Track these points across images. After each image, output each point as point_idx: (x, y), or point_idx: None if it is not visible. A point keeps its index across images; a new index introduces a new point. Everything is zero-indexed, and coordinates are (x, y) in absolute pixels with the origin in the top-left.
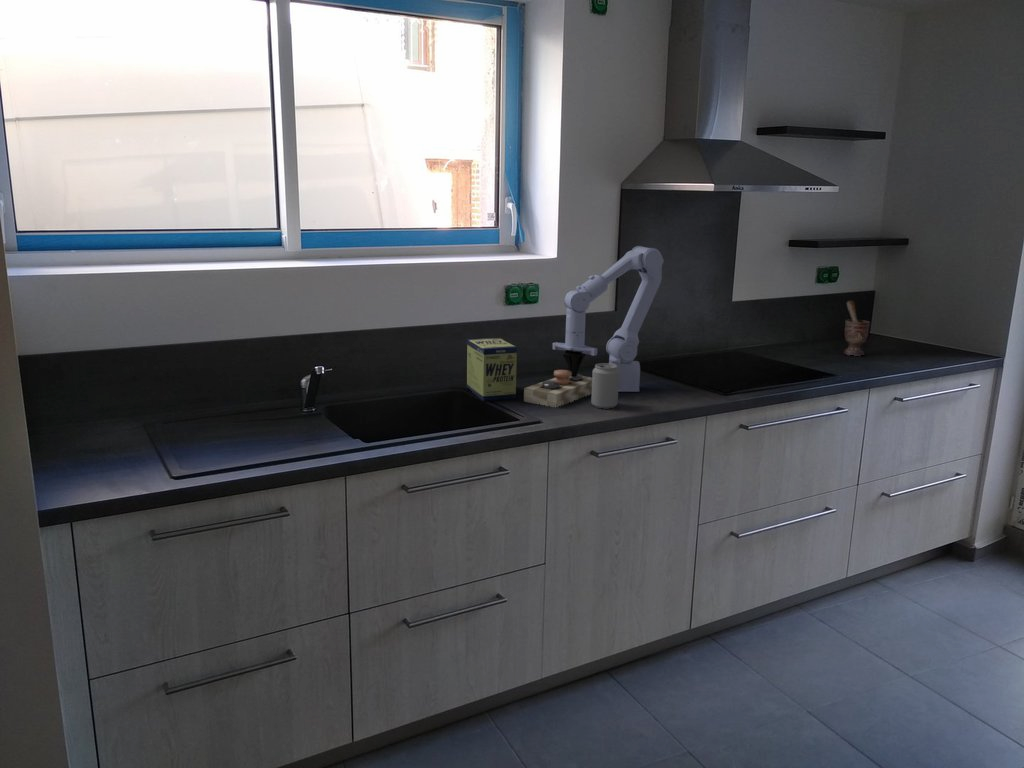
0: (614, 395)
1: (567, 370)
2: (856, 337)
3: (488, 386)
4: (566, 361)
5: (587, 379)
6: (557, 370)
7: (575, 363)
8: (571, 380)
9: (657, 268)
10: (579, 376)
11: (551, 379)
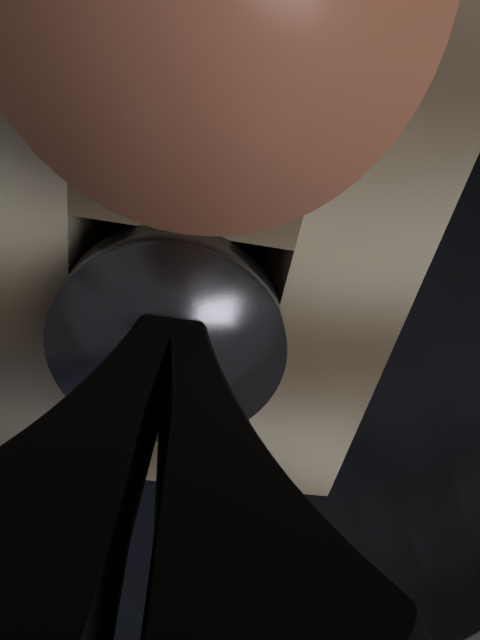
0: None
1: (165, 210)
2: None
3: None
4: (279, 471)
5: (31, 392)
6: (387, 75)
7: (11, 438)
8: (147, 229)
9: None
10: (68, 342)
11: (446, 179)
